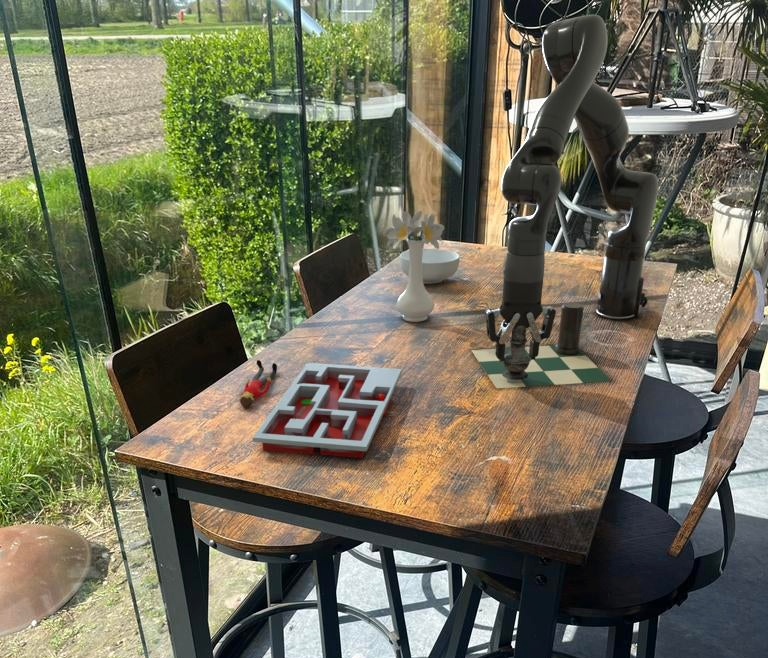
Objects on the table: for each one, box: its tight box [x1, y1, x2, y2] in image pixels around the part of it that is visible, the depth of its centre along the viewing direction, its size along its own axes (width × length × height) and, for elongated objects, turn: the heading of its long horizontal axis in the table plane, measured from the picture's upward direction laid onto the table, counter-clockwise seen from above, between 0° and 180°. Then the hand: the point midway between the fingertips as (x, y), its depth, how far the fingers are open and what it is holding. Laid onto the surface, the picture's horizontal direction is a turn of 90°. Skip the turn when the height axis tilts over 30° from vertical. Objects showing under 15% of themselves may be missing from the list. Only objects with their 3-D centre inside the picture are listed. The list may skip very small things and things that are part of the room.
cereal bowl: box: [399, 248, 460, 285], centre depth 225 cm, size 17×17×7 cm
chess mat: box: [470, 344, 612, 390], centre depth 170 cm, size 24×22×1 cm
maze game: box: [252, 362, 403, 459], centre depth 148 cm, size 35×20×3 cm, turn 169°
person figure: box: [239, 359, 278, 409], centre depth 159 cm, size 5×4×18 cm
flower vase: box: [385, 210, 445, 323], centre depth 192 cm, size 13×18×25 cm
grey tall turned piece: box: [502, 326, 531, 380], centre depth 160 cm, size 6×6×12 cm
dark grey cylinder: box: [555, 301, 585, 355], centre depth 175 cm, size 5×5×10 cm
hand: (516, 358), depth 161 cm, fingers closed on grey tall turned piece, 6 cm apart
